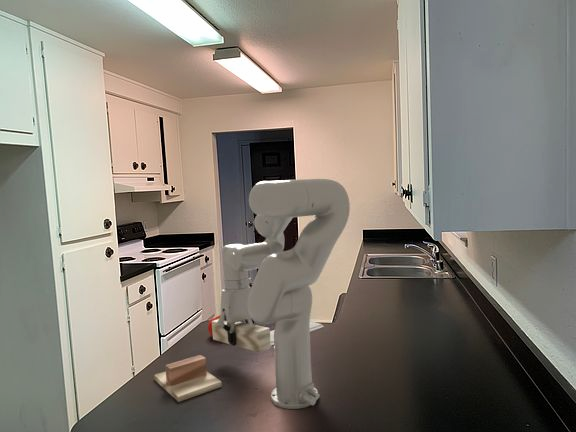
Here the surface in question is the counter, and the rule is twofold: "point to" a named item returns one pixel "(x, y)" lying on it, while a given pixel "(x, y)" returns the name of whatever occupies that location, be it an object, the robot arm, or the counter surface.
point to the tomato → (211, 325)
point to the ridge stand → (187, 378)
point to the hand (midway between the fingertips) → (240, 341)
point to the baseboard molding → (313, 327)
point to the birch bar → (244, 335)
